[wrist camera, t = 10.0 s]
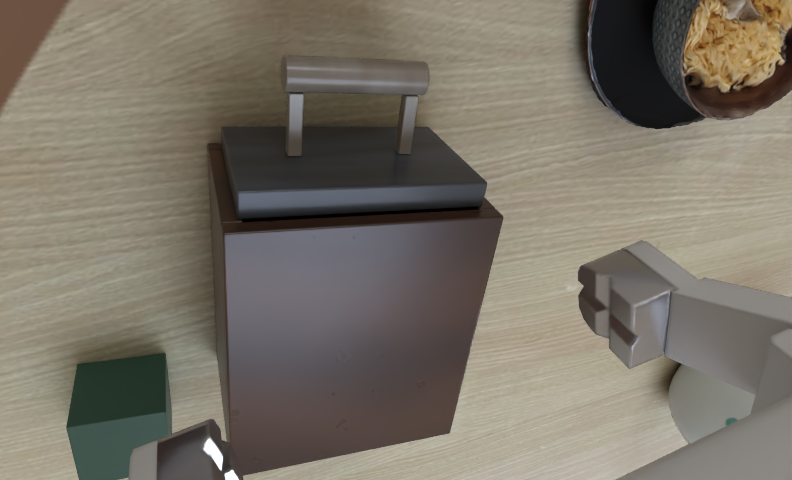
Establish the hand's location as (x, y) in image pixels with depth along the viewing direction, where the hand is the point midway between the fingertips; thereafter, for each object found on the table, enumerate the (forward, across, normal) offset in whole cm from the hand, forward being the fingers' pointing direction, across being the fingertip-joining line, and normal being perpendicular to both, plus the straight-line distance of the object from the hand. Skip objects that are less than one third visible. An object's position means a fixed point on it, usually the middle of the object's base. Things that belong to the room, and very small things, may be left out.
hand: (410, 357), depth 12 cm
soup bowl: (+19, -24, +3) cm, 31 cm away
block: (+19, +14, +14) cm, 27 cm away
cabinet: (+19, +1, +10) cm, 21 cm away
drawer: (+18, -1, +6) cm, 19 cm away
